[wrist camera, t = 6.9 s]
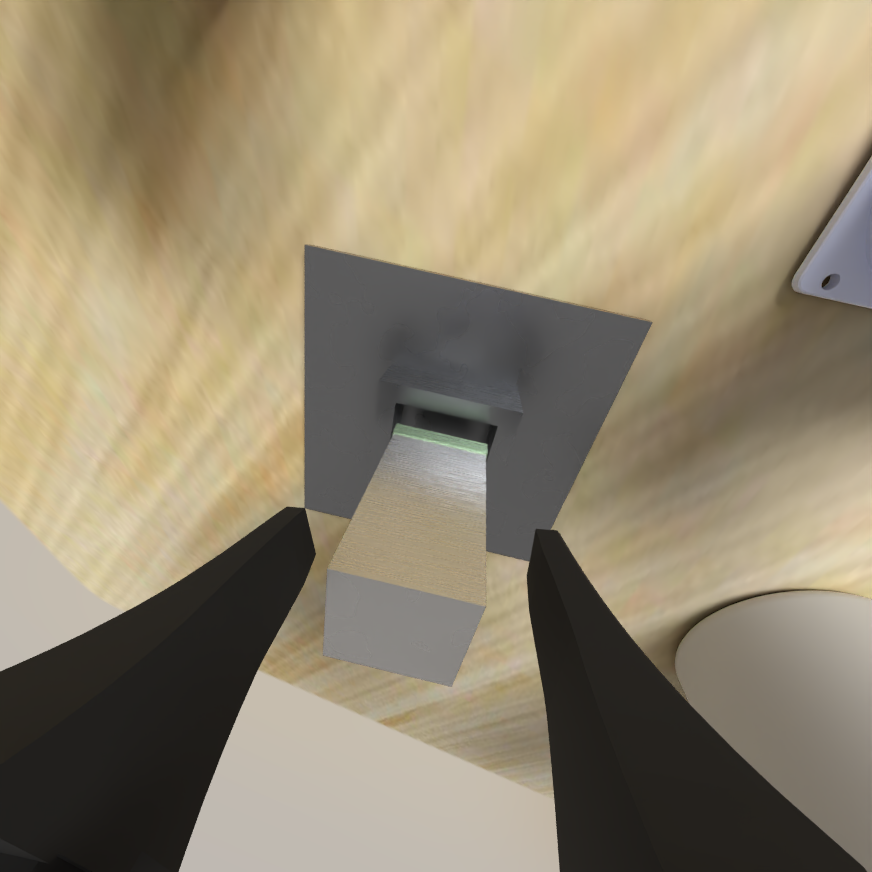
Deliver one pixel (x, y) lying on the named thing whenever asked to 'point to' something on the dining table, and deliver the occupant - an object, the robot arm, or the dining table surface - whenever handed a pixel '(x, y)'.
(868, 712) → the cylinder vase
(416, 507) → the column
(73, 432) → the dining table surface
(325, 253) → the stand base
